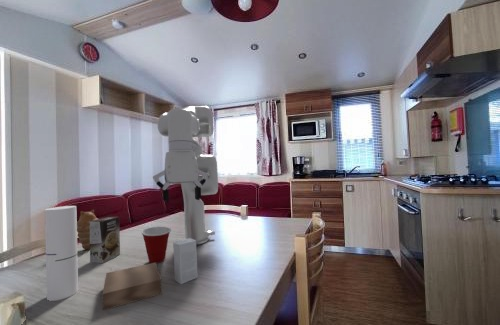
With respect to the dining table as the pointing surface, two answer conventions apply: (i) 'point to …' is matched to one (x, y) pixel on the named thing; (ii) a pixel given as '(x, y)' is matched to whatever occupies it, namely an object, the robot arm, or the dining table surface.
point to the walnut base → (131, 285)
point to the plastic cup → (156, 243)
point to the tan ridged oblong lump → (85, 228)
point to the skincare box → (185, 260)
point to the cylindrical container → (61, 252)
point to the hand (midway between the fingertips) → (182, 200)
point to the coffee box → (104, 239)
